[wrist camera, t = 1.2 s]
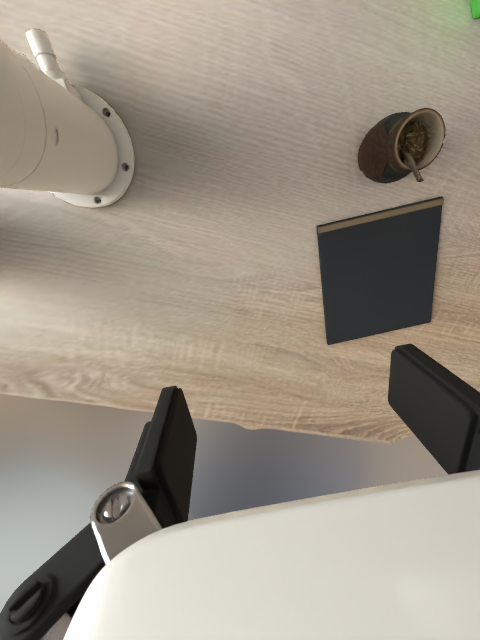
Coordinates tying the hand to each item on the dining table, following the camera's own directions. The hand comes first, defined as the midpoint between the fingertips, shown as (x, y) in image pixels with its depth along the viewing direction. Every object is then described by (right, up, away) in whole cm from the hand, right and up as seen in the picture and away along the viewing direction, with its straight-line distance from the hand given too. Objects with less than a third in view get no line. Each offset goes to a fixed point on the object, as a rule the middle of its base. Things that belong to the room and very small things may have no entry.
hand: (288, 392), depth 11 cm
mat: (+20, +10, +30) cm, 37 cm away
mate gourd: (+16, +25, +23) cm, 38 cm away
